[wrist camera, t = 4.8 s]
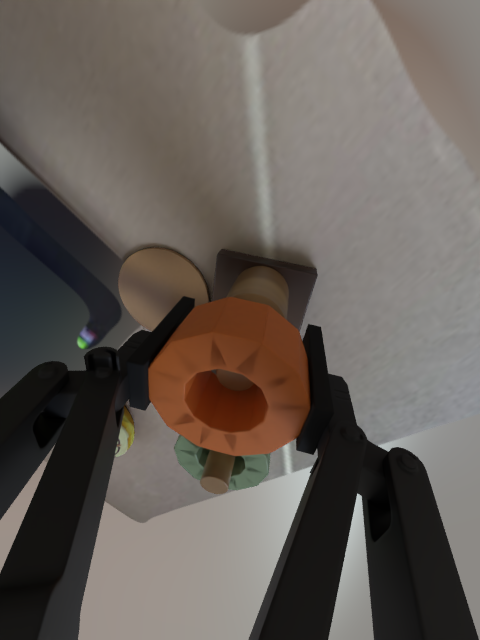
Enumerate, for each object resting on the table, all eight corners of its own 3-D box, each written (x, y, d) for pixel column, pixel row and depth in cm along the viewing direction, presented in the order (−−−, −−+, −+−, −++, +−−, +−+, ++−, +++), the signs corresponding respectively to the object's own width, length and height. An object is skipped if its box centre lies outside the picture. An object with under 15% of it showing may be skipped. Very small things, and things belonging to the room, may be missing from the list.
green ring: (182, 392, 22) (165, 424, 19) (269, 397, 20) (264, 432, 18) (197, 449, 25) (185, 483, 22) (273, 457, 24) (270, 495, 21)
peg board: (221, 248, 23) (158, 314, 12) (316, 268, 22) (333, 355, 12) (205, 380, 30) (158, 489, 20) (275, 398, 30) (264, 520, 19)
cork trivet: (116, 237, 24) (114, 238, 24) (214, 258, 23) (213, 260, 23) (123, 323, 28) (121, 325, 28) (205, 343, 28) (204, 345, 27)
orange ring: (178, 284, 13) (146, 315, 10) (324, 316, 12) (332, 359, 10) (173, 389, 16) (149, 433, 14) (287, 418, 16) (285, 470, 13)
